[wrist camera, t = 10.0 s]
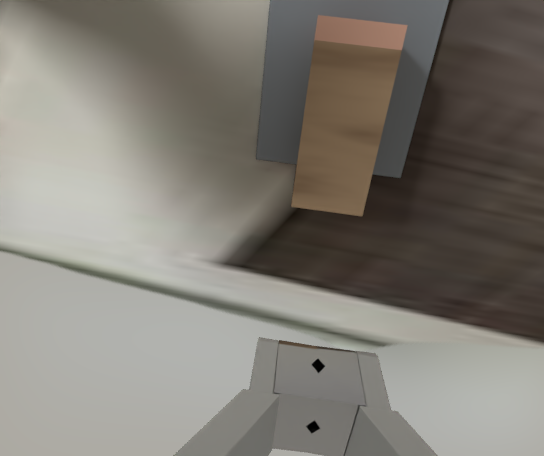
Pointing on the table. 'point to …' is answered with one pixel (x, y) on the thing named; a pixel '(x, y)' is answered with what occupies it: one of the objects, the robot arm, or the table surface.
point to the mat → (297, 61)
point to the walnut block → (345, 112)
